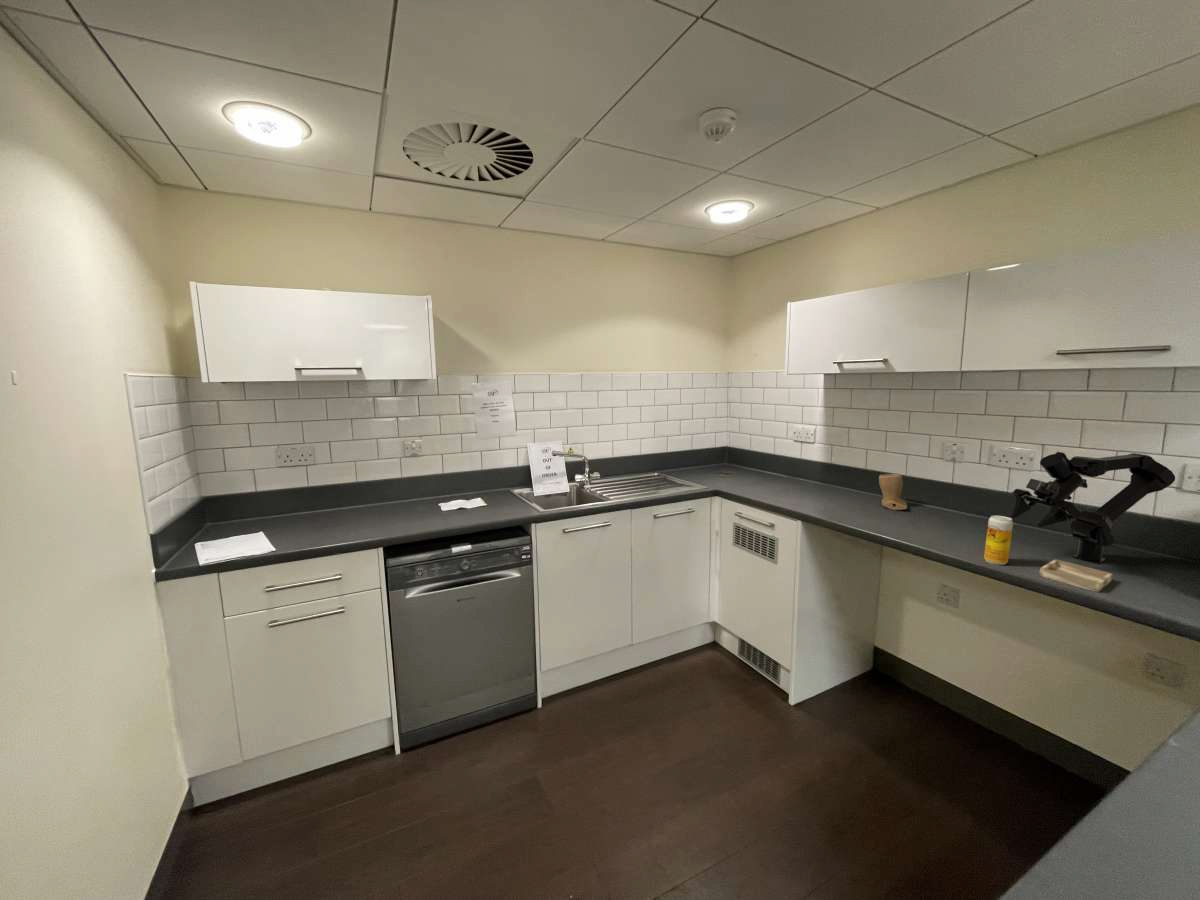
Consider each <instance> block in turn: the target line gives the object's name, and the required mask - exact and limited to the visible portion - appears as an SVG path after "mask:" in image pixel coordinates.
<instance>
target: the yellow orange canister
mask: <svg viewBox="0 0 1200 900" xmlns="http://www.w3.org/2000/svg"><path fill="white" fill-rule="evenodd" d="M1013 527H1014V522H1013V518H1012V517H1007V516H1004V515H991V516H990V517H989V519H988V523H987V530H986V538H985V546H984V552H983V553H984V555H983V559H985V561H986V562H987V563H990V564H992V565H997V566H998V565H999V566H1005V565H1006V564H1007V563H1008V562H1009V555H1010V549H1011V542H1012V535H1013V529H1014V528H1013Z"/></svg>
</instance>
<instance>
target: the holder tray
mask: <svg viewBox="0 0 1200 900" xmlns="http://www.w3.org/2000/svg"><path fill="white" fill-rule="evenodd" d="M1038 576H1039V577H1041V576H1042V577H1041V578H1045V579H1048V578H1049V579H1048V580H1051V581H1052V580H1053V581H1056V582H1060V583H1064V584H1067V585H1071V586H1075V587H1078V588H1081V589H1085V590H1088V591H1092V592H1095V591H1096V592H1095V593H1099V592H1100V591H1102V590H1103V589H1104V588H1105V587H1107V586H1108V585H1109V584H1111V583H1112V582H1113V581H1112V580H1113V576H1114V573H1111V572H1108V571H1104V570H1101V569H1096V568H1092V567H1087V566H1083V565H1080V564H1076V563H1071V562H1068V561H1064V560H1060V559H1053V560H1051V561H1050V562H1048V563H1046V564H1044V565H1042V566H1041V567H1040V568H1039V573H1038Z"/></svg>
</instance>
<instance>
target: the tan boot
mask: <svg viewBox="0 0 1200 900" xmlns="http://www.w3.org/2000/svg"><path fill="white" fill-rule="evenodd" d="M903 482H904V480H903V476H902V474H898V473H893V474H890V473H889V474H886V473H885V474H880V475H879V476H878V483H879V487H880V490H881V493H882V499H881V505H882V506H883V507H885V508H888V509H890V510H893V511H901V510H906V509H908V504H907V501H905V500H904V499H903V500H902V499H901V495H902V491H903V487H904V486H903Z"/></svg>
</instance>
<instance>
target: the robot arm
mask: <svg viewBox="0 0 1200 900" xmlns="http://www.w3.org/2000/svg"><path fill="white" fill-rule="evenodd" d="M1039 464H1040V466H1041V467H1042V468H1043V470H1044V471H1045V472H1046V473H1047V474H1048V476H1049V477H1050V478H1052V479H1054V480H1051V481H1048V482H1047V481H1042V480H1040V479H1034V478H1030V480H1029V481H1028V483H1027V484H1026V486H1025V488H1026V489H1030V490H1032V491H1033V494H1034V495H1035V496H1033V494H1032V493H1031V492H1030V491H1029V490H1026V489H1022V488H1015V489H1014V490H1013V491H1012V492H1011V494H1012V496H1013V498H1014V499H1015V504H1014V508H1012V509H1013V510H1012V512H1011V514H1010V518H1011V519H1015V518H1018V517H1019V516H1021V515H1023V514H1025V513H1026V512H1027V511H1029V510H1031V509H1032V507H1034V506H1035V505H1040V506H1043V507H1046V508H1050V510H1049V512H1048V513H1046V515H1045V516H1044V517H1043V518H1042V519H1041V520H1040V521H1039V522H1038V523H1037V527H1038V528H1044V527H1046V526H1050V525H1054V524H1056V523H1057V524H1058V523H1061V522H1065V521H1068V522H1070V521H1071V523H1070V530H1071V535H1072V537H1073V538H1076V539H1079V543H1078V548H1077V553H1075V554H1073V556H1072V558H1074V559H1079V560H1083V561H1087V562H1091V563H1094V564H1095V563H1096V564H1102V563H1103V562H1105V560H1106V558H1105V557H1103V553H1104V547H1110V546H1113V545H1114V543H1115V541H1116V539H1115V538H1114V536H1113V535H1112V533H1111V531H1112V529H1113V528H1112V527H1113V522H1114V521H1116V520H1118V518H1119V517H1120V516H1121V515H1123V514H1125V512H1127V511H1128V510H1130V509H1131V508H1132V507H1133V506H1135V505H1136V504H1137V503H1138V502H1140V501H1141V500H1142V499H1143V498H1145V497H1146V496H1147V495H1148V494H1152V493H1157V492H1160V491H1162V490H1165V489H1167V488H1168V487H1170V486H1171V485H1173V484H1174V482H1175V481H1176V475H1175V474H1174V472H1173V471H1172V470H1170V469H1169V468H1168V467H1166V466H1165V465H1164V464H1161V463H1160V462H1158V461H1156V460H1155V459H1154V458H1153V457H1152V456H1150V455H1148V454H1141V453H1134V452H1133V453H1127V454H1122V455H1115V456H1114V455H1113V456H1104V457H1090V456H1080V455H1079V456H1077V455H1076V456H1073V457H1071V459H1069V458H1068V456H1067V455H1066V454H1065V452H1061V451H1056V452H1055V453H1053V454H1049V455H1046V456H1045V457H1044V456H1043V457H1042V458H1041V459H1040V461H1039ZM1127 469H1128V472H1130V474H1131V475H1130V482H1129V484H1127V485H1126V486H1125V487H1124V488H1122V489H1121V490H1120V491H1119V492H1117V493H1116V494H1115V495H1114V496H1113V497H1112V498H1110V499H1109V500H1108V501H1106V502H1105V503H1104V504H1103V505H1101V506H1099V508H1098V509H1096V510H1094V511H1089V510H1086V509H1085V510H1083V511H1081V510H1080V509H1078V507H1077V506H1076V505H1075V503H1074V502H1071V501H1070V500H1072V496H1071V495H1072V494H1073V493H1074V492H1075V491H1077V489H1079V488H1083V489H1088V482H1087V479H1085V478H1082V477H1083V476H1084V477H1089V478H1096V477H1100V476H1103V475H1105V474H1106V473H1107V472H1110V471H1118V470H1119V471H1120V470H1127Z"/></svg>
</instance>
